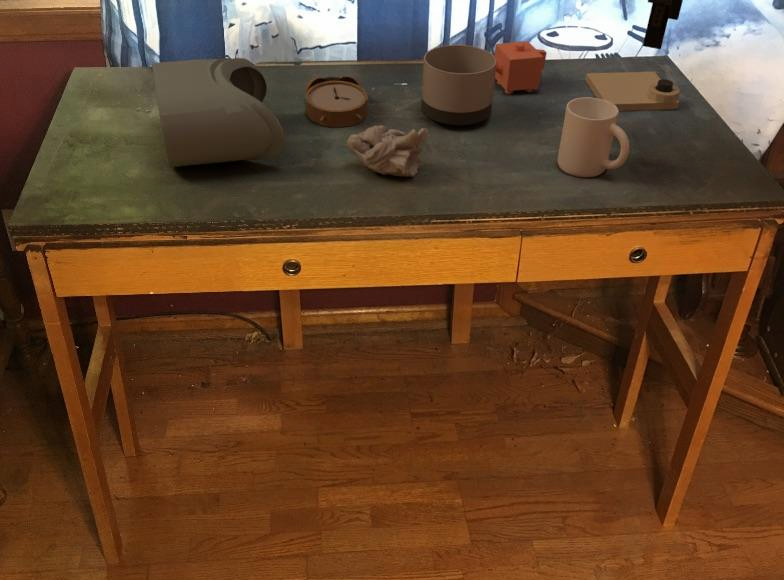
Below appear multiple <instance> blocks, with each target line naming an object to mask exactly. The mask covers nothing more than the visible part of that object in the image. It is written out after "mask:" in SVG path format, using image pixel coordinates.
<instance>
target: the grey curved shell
mask: <svg viewBox="0 0 784 580" xmlns="http://www.w3.org/2000/svg"><path fill="white" fill-rule="evenodd" d="M151 66H152V74H153V80H154V88H155V95H156V101H157V107H158V108H157V109H158V114H159V120H160V126H161V132H162V137H163V143H164V144H163V145H164V149H165V157H166V163H167V167H168V168H175V167H187V166H196V165H208V164H217V163H229V162H237V161H260V160H261V161H262V160H266V159H270V158H273V157H275V156H277V155H278V154H280V152H281V151H283V149H284V147H285V143H286V137H285V132H284V129H283V127H282V124H281V123H280V121H279V120H278V118H277V117H276V115H275V114H274V113H273V112H272V111H271V109H270V108H269V107H268V106H267V105H265V104H264V103H263V101H264V100H265V97H266V94H267V88H268V86H267V83H266V79H265V77H264V74H263V73H262V70H260V69H259V68H258V67H257V66H256V64H255V63H253V62H252V61H251V60H249V59H246V58H243V57H235V58H234V57H233V58H231V57H224V58H223V57H222V58H203V59H202V58H201V59H199V58H198V59H187V60H173V61H172V60H171V61H161V62H160V61H159V62H152V64H151Z"/></svg>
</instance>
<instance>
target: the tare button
mask: <svg viewBox="0 0 784 580" xmlns="http://www.w3.org/2000/svg"><path fill="white" fill-rule="evenodd" d="M673 85H674V82H673V81H672V80H670V79H661V80H659V81H658V84H657V88H656V90H658V91H660V92H665V93H667V92H671V91H672V87H673Z"/></svg>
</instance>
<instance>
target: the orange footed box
mask: <svg viewBox="0 0 784 580" xmlns="http://www.w3.org/2000/svg"><path fill="white" fill-rule="evenodd" d="M493 55H494V56H495V58H496V60H497V63H496V73H495V80H496V81H497V83H496V84H497V85H499V86H501V87H502V88H503V89H504V93H505V94H514V92H515V91H523V90H524V92H529V93H530V92H532V91H533V90H535V89H539V88H540V84H541V77H542V71H543V70H544V69H545V63H546V58H547V51H546V50H545V49H538V48H536V47H535V46H534V45H532V43H530V42H529V41H528V40H525V41H514V42H504V43H502V42H501V43H496V44H495V47H494V54H493Z"/></svg>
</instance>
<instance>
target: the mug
mask: <svg viewBox="0 0 784 580" xmlns="http://www.w3.org/2000/svg"><path fill="white" fill-rule="evenodd" d="M619 112H620V111H619V110H618V108H617V107H616V106H615V105H614V104H613V103H611V102H609V101H606V100H603V99H599V98H597V97H593V96H591V97H589V96H586V97H585V96H583V97H577V98H573V99H572V100H569V101H568V102H567V104H566V108H565V113H564V118H563V119H564V121H563V125H562V131H561V137H560V142H559V149H558V154H557V165H558V167H559V168H560V170H561V171H563V172H564V173H566V174H567V175H569V176H573V177H576V178H577V177H578V178H594V177H597V176H600V175H602V174H603V173H604V172H605V170H606V169H607V170H615V169H619V168H621V166H623V165H624V164H625V162H626V161H627V159H628V156H629V153H630V141H629V137H628V135H627V133H626V132H625V130H624V129H622V128H621V126H619V125H617V121H618V117H619ZM614 137H616V138H617V140H618V141H619V144H620V153H619V155H618V157H617V158H616V159H614V160H612V159H611V160H610V153H611V149H612V145H613V140H614Z"/></svg>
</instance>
